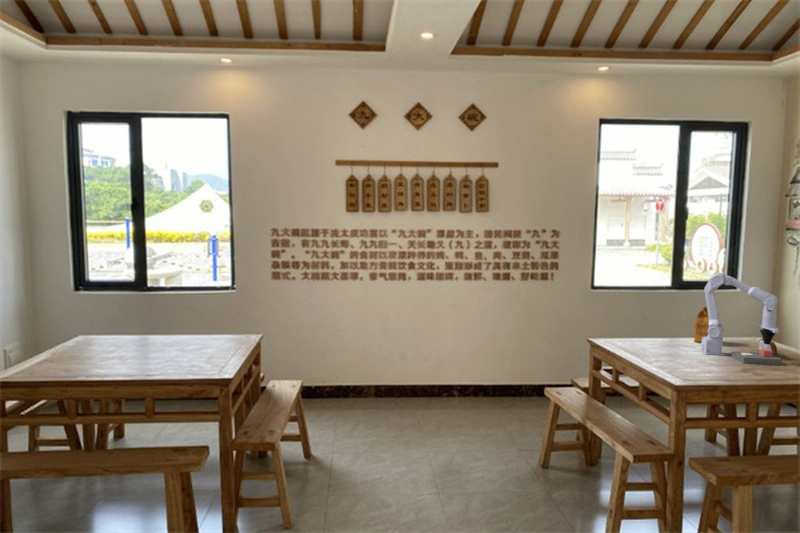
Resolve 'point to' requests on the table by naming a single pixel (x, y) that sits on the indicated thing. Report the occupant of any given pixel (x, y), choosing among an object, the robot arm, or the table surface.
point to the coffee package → (701, 325)
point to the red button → (765, 352)
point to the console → (756, 358)
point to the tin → (768, 346)
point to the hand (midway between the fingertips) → (766, 344)
